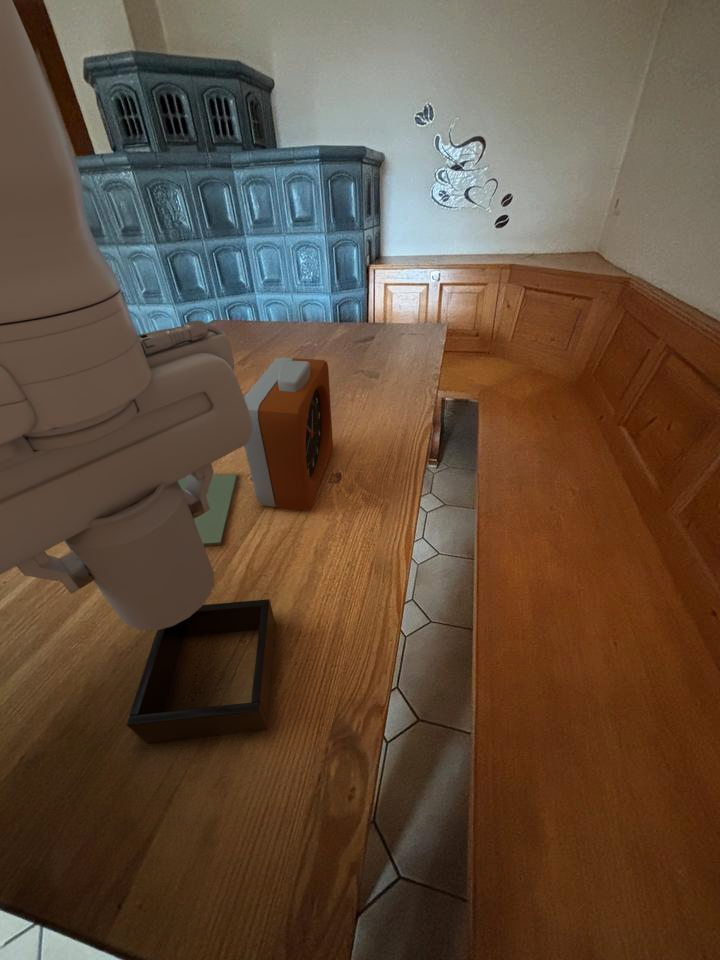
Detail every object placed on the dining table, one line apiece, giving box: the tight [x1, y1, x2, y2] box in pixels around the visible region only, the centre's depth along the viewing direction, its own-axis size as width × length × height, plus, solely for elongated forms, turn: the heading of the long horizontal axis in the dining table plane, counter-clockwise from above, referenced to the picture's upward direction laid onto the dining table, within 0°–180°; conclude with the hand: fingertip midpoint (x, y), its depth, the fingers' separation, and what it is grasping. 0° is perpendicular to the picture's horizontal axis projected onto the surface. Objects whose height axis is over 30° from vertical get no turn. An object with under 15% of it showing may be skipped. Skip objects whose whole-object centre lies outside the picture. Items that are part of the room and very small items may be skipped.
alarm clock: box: [243, 356, 334, 511], centre depth 62 cm, size 18×9×21 cm, turn 171°
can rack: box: [126, 598, 277, 744], centre depth 40 cm, size 12×12×5 cm
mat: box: [178, 473, 238, 547], centre depth 61 cm, size 16×16×1 cm
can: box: [63, 481, 215, 632], centre depth 28 cm, size 8×8×12 cm
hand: (143, 543), depth 28 cm, fingers closed on can, 7 cm apart
